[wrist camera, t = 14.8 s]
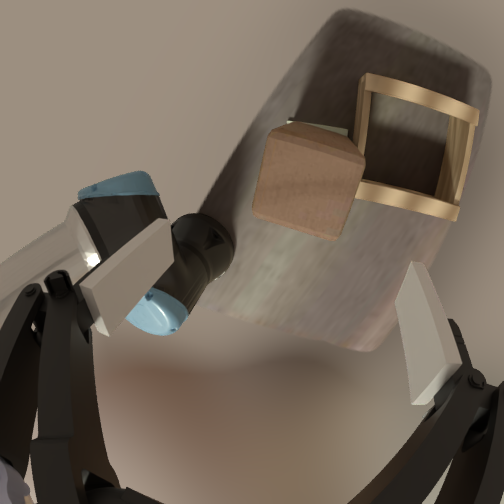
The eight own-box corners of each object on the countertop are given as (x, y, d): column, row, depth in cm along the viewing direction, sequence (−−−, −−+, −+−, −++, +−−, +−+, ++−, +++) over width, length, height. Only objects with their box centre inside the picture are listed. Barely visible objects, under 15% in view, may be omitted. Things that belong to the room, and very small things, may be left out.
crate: (346, 181, 44) (350, 196, 37) (358, 79, 35) (366, 72, 27) (437, 202, 40) (455, 221, 33) (455, 108, 31) (479, 110, 24)
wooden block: (292, 119, 41) (267, 126, 24) (351, 137, 39) (370, 157, 23) (278, 174, 46) (247, 219, 29) (334, 191, 45) (337, 247, 28)
